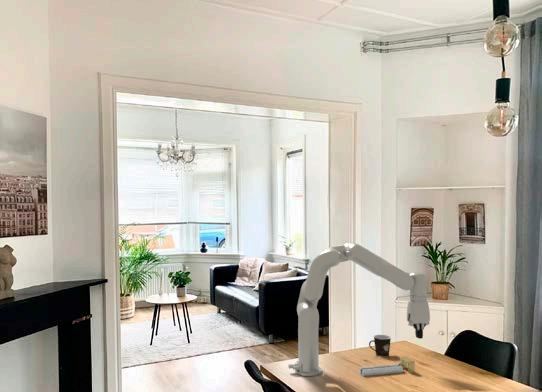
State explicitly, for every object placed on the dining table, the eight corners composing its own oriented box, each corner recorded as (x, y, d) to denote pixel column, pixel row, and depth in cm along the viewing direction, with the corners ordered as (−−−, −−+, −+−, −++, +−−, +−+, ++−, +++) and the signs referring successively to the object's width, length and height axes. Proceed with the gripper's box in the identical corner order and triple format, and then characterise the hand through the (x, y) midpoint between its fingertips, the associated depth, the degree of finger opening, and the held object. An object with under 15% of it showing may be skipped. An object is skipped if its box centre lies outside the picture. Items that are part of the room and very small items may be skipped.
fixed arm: (363, 376, 189) (363, 370, 189) (362, 375, 191) (362, 369, 191) (402, 372, 194) (402, 366, 194) (401, 371, 196) (401, 365, 196)
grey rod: (361, 374, 191) (361, 367, 192) (359, 372, 193) (359, 366, 194) (402, 370, 196) (402, 364, 197) (400, 369, 198) (400, 362, 198)
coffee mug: (389, 354, 224) (389, 335, 225) (392, 359, 216) (392, 339, 217) (367, 353, 226) (367, 334, 226) (369, 358, 217) (369, 338, 218)
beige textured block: (409, 373, 193) (408, 361, 193) (400, 367, 200) (400, 356, 200) (414, 372, 194) (414, 361, 194) (405, 367, 201) (405, 356, 201)
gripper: (427, 296, 206) (428, 334, 205) (400, 298, 202) (400, 337, 201) (436, 299, 199) (437, 338, 198) (408, 301, 195) (409, 341, 194)
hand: (419, 337), depth 200 cm, fingers closed
